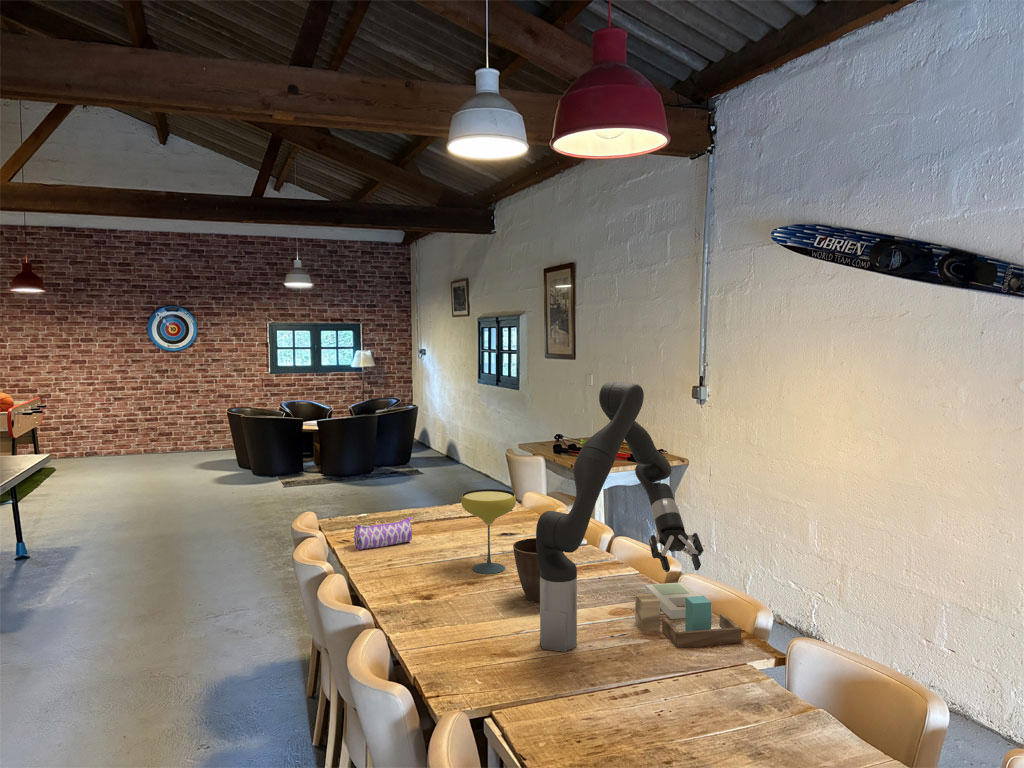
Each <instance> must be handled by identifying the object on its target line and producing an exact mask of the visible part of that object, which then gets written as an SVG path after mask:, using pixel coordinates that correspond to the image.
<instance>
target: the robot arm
mask: <svg viewBox="0 0 1024 768" xmlns="http://www.w3.org/2000/svg"><path fill="white" fill-rule="evenodd" d="M644 394H645V393H644V390H643V388H642V386H641V385H640V384H637V383H633V382H619V381H610V382H609V381H608V382H605V383H604V384H603V385H602V387H601V388H600V391H599V395H598V401H599V405H600V408H601V409H602V411H603V413H604V414H605V416H606V417H607V418H608V419H609V421H610V422H608V423H607V424H606V425H605V426H604V427H602V428H600V429H599V431H597V432H596V433H594V434H593V435H592V436H590V437H589V438H588V439H587V440H586V441H585V442H584V444H583V445H582V447H581V449H580V450H579V453H578V454H577V456H576V459H575V462H574V464H573V478H574V484H575V485H574V486H575V492H576V493H575V499H574V502H573V504H572V507H571V509H570V510H569V512H568V513H565V512H560V511H555V510H554V511H553V510H546V511H544V512H542V514H540V516H539V517H538V521H537V523H536V528H535V529H536V530H535V538H536V547H537V563H538V567H539V569H540V603H539V636H540V637H539V642H540V645H541V649H543V650H548V651H555V652H556V651H557V652H565V653H566V652H567V651H569V650H572V649H574V648H575V647H576V646H577V643H578V642H577V641H578V638H577V637H578V633H577V632H578V624H577V623H578V619H577V618H578V616H577V615H578V567H577V565H576V564H575V562H573V560H571V559H570V558H569V557H568V556H567V555H565V553H573V552H576V551H577V550H578V549H579V547H580V546H581V544H582V542H583V541H584V538H585V536H586V532H587V530H588V527H589V525H590V521H591V518H592V515H593V512H594V509H595V507H596V504H597V501H598V498H599V496H600V494H601V491H602V489H603V486H604V485H605V482H606V481H607V478H608V477H609V474H610V472H611V470H612V468H613V466H614V463H615V461H616V458H617V455H618V454H619V451H620V449H621V447H622V445H623V444H624V443H623V442H624V441H625V442H626V444H627V446H628V448H629V451H630V452H631V454H632V456H633V458H634V460H635V462H636V463H637V464H636V465H635V468H634V469H635V470H634V472H635V475H636V478H637V479H638V481H639V483H640V485H641V486H642V487H643V488H644V491H645V492H646V494H647V496H648V500H649V503H650V506H651V513H652V518H653V521H654V524H655V528H656V531H657V534H658V536H655V535H654V534H651V536H650V537H649V540H648V543H649V547H650V551H651V557H652V558H653V559H658V560H659V561H660V564H661V567H662V571H664V572H665V573H669V572H670V571H671V567H670V563H669V560H668V556H666V554H667V553H668V551H669V552H671V553H673V552H682V553H683V552H684V553H685V554H688V556H689V557H691V562H692V565H693V568H694V570H695V571H699V570H700V568H701V565H702V563H701V560H700V557H701V556H702V554H703V553H704V548H703V544H702V542H701V541H700V538H699V535H698V533H697V532H694V533H693V534H688V533H687V532H686V530H685V526H684V523H683V519H682V516H681V513H680V509H679V506H678V505H677V503H676V500H675V496H674V494H673V491H672V488H671V486H670V485H669V484H668V483H664V482H661V481H664V480H667V479H668V478H669V477H670V476H671V474H672V466H671V464H670V462H669V460H668V459H667V458H666V457H665V456H664V455H663V454H662V453H661V452H659V450H658V449H657V447H656V445H655V443H654V441H653V439H652V437H651V435H650V433H649V432H648V431H647V430H646V429H645V428H644V427H643V426H642V425H641V424H639V422H637V421H636V419H637V418H638V415H639V414H640V412H641V410H642V408H643V403H644V398H645V395H644ZM657 482H659V483H657ZM689 541H690V542H689ZM658 544H661V545H662V546H663V548H662V551H659V547H658Z"/></svg>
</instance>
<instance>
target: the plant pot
mask: <svg viewBox="0 0 1024 768" xmlns="http://www.w3.org/2000/svg"><path fill="white" fill-rule="evenodd" d="M512 548H513V549H512V550H513V554H514V562H515V566H516V570H517V574H518V575H517V576H518V578H519V582H520V585H521V588H522V590H523V593H524V596H525V599H526V600H527V601H529V602H531V603H538V604H540V569H539V567H538V563H537V547H536V537H535V538H534V537H533V538H532V537H531V538H524V539H519V540H517V541H515V543H513V545H512Z"/></svg>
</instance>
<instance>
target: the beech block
mask: <svg viewBox="0 0 1024 768" xmlns="http://www.w3.org/2000/svg"><path fill="white" fill-rule="evenodd" d="M634 597H635V599H634V601H635V603H634V606H635V608H634V609H635V611H634V614H635V615H634V616H635V620H634V624H635V625H636V627H637V628H638V629H639V630H640V631H641V632H651V631H661V629H660V628H661V609H660V600H659V599H658V598H657V597H656V596H655V595H654V594H646V593H644V594H643V593H642V594H639V593H638V594H635V595H634Z"/></svg>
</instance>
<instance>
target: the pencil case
mask: <svg viewBox="0 0 1024 768" xmlns="http://www.w3.org/2000/svg"><path fill="white" fill-rule="evenodd" d="M412 520H413V517H410V516H408V517H407V518H405V519H402V520H400V521H396V522H390V523H383V524H382V523H381V524H374V525H363V524H360V525H357V524H355V525H354V526H355V529H354V534H353V537H354V539H353V540H354V544H355V547H356V549H358V550H359V551H360V550H361V551H362V550H366V549H371V548H373V549H374V548H382V547H387V546H392V545H393V546H394V545H397V544H402V543H409V542H411V541H413V528H412V524H411V521H412Z"/></svg>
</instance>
